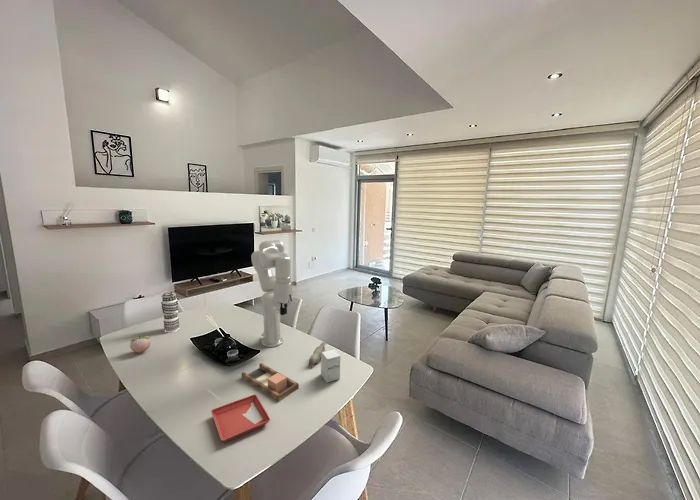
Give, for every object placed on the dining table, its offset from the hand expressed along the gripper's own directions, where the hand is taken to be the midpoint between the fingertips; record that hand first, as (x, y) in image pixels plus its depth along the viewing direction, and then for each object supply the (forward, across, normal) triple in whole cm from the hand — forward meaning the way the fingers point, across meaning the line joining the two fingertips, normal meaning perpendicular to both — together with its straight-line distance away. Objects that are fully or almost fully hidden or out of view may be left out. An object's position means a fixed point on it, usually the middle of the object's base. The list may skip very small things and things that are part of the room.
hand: (283, 314), depth 154 cm
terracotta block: (+26, +15, -17) cm, 35 cm away
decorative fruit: (+27, -68, -43) cm, 85 cm away
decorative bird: (+28, +13, +12) cm, 33 cm away
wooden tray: (+27, +8, -17) cm, 33 cm away
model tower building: (+27, -85, -20) cm, 91 cm away
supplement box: (+27, +28, +5) cm, 39 cm away
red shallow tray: (+28, +19, -39) cm, 51 cm away
